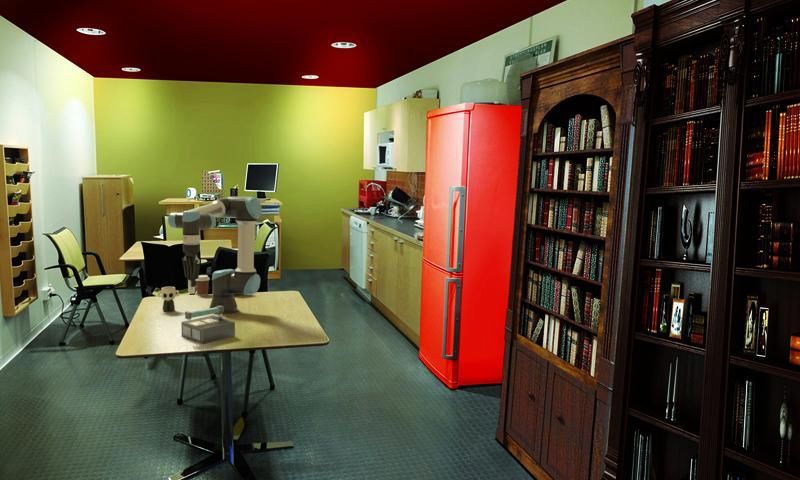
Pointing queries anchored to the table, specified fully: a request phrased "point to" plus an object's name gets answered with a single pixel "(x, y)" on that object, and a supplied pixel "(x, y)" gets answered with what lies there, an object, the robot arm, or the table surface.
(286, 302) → the table surface
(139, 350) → the table surface
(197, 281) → the coffee cup
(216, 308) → the cable arm
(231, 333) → the box
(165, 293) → the big eared figurine
